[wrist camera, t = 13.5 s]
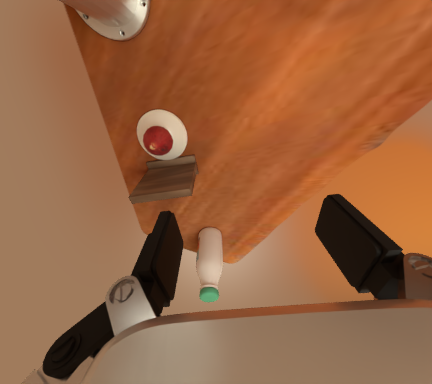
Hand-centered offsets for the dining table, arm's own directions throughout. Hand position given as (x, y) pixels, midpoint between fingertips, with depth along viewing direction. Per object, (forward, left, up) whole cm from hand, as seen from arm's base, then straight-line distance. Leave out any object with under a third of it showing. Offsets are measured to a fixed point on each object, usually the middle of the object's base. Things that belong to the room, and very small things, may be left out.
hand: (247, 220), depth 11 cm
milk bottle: (+35, -9, -32) cm, 48 cm away
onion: (+1, -14, -31) cm, 34 cm away
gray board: (+9, -14, -31) cm, 35 cm away
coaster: (+1, -14, -31) cm, 34 cm away
